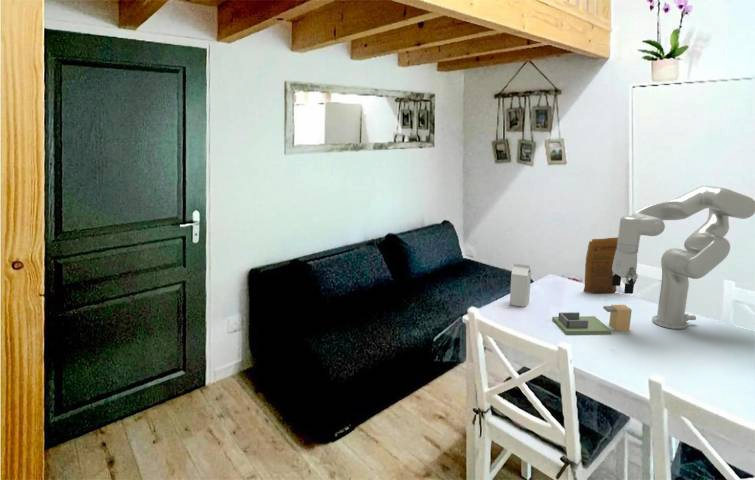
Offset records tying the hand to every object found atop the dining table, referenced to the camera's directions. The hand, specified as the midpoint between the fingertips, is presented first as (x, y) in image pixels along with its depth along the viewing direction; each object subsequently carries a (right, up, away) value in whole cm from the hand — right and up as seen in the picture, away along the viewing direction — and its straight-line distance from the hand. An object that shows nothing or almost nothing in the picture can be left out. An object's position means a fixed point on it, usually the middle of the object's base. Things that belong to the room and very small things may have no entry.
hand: (622, 289), depth 191 cm
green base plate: (-14, -16, +5) cm, 22 cm away
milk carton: (-31, -10, +32) cm, 46 cm away
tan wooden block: (-1, -16, +4) cm, 17 cm away
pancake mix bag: (+13, -6, +47) cm, 49 cm away
